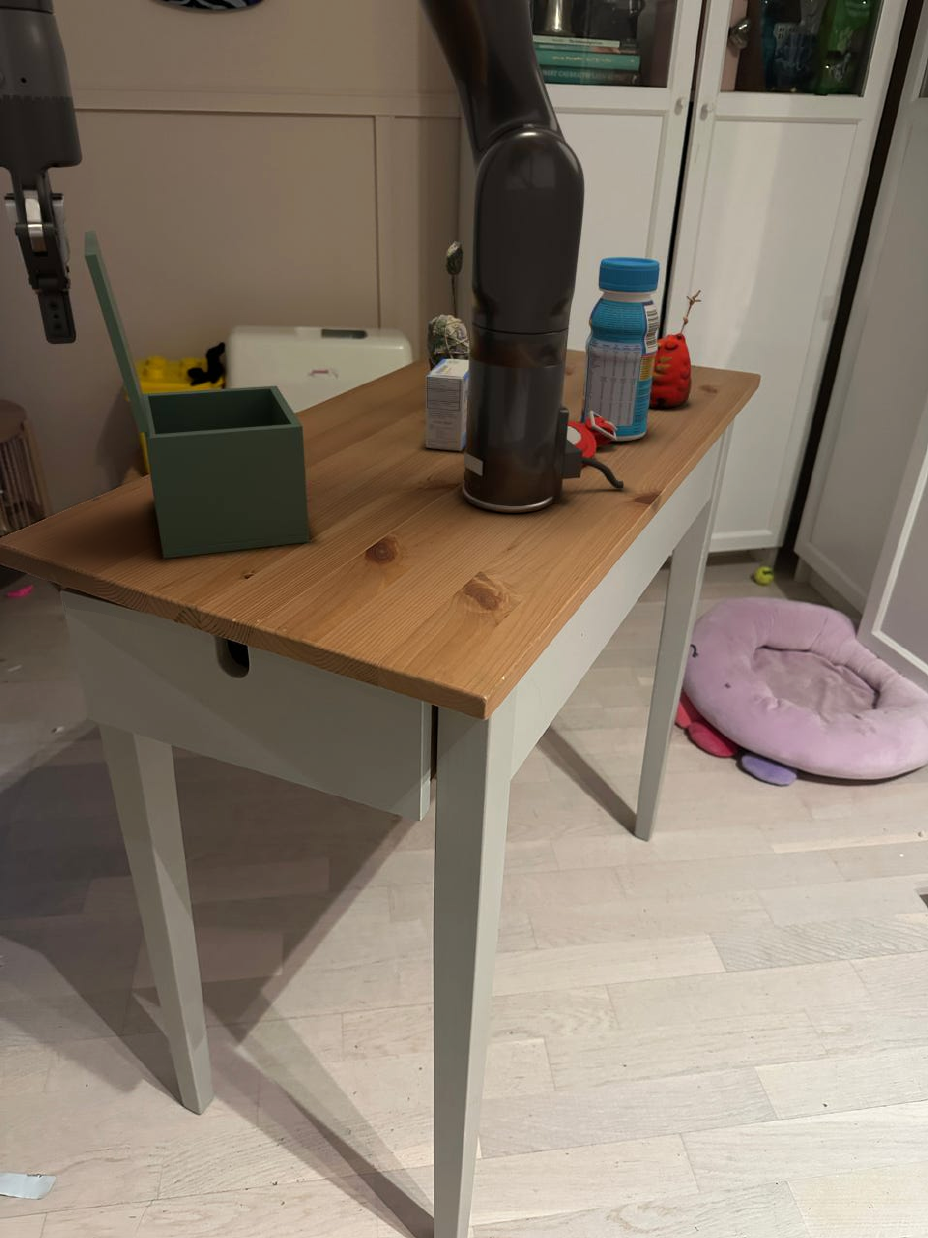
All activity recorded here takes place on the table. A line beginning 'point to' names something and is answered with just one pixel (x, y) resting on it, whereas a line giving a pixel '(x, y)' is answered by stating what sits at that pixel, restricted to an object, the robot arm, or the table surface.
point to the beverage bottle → (622, 346)
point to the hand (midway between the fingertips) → (62, 341)
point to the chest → (226, 470)
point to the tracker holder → (591, 434)
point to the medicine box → (447, 405)
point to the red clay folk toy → (672, 369)
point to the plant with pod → (449, 321)
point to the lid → (115, 329)
